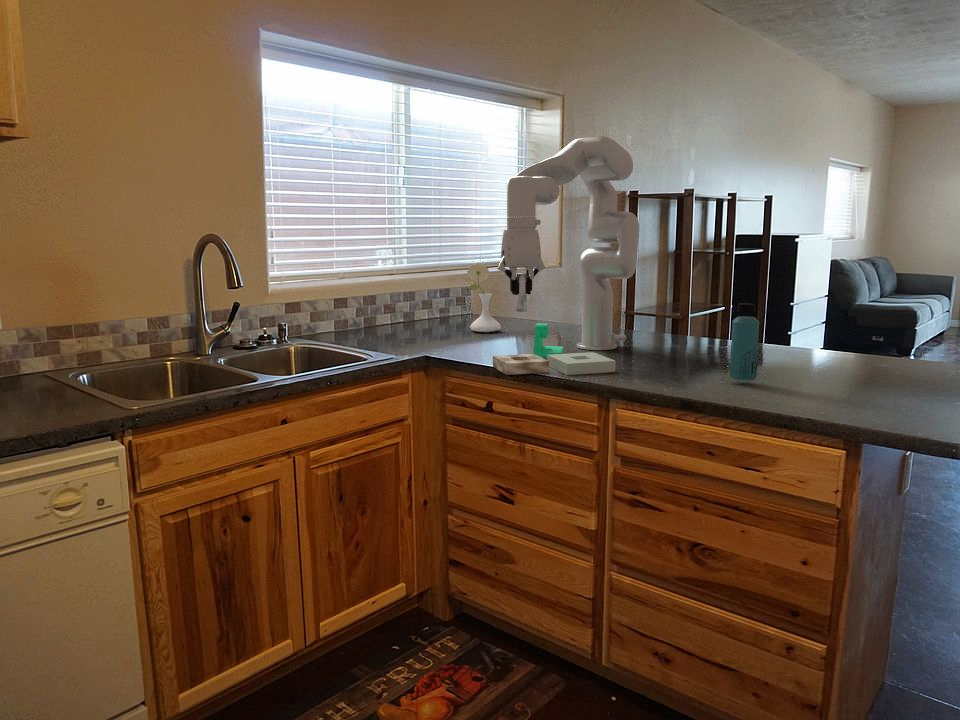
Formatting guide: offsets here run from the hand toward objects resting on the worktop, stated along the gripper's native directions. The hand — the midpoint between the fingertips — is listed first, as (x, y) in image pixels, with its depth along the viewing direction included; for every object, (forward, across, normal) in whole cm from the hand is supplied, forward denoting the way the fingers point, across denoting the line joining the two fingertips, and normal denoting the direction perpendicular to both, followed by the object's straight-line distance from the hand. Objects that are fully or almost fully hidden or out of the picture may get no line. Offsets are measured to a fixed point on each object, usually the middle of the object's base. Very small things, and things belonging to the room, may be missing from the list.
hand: (521, 293), depth 200 cm
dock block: (+21, -16, +4) cm, 26 cm away
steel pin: (+5, 0, 0) cm, 5 cm away
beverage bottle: (+21, -46, +34) cm, 61 cm away
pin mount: (+21, 0, 0) cm, 21 cm away
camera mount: (+21, -14, -14) cm, 29 cm away
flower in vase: (+21, -11, -71) cm, 75 cm away
